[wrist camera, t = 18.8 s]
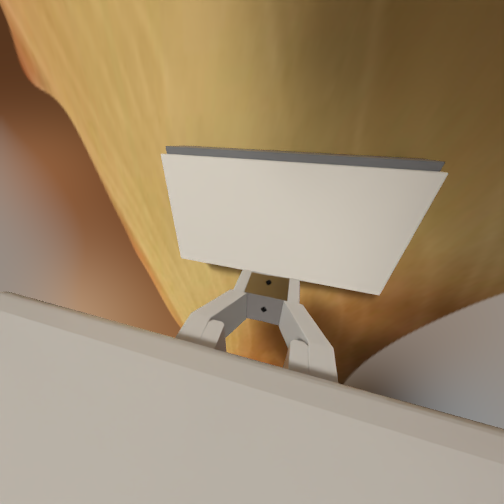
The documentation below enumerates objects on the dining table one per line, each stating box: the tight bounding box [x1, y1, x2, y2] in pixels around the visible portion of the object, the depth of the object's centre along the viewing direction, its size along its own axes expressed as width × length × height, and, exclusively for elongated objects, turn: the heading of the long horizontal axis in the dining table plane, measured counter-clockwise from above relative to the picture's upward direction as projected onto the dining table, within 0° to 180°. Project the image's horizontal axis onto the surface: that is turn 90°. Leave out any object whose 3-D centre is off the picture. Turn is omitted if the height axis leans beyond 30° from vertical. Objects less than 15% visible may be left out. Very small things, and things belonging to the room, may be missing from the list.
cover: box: [161, 154, 448, 295], centre depth 17 cm, size 11×22×1 cm, turn 87°
